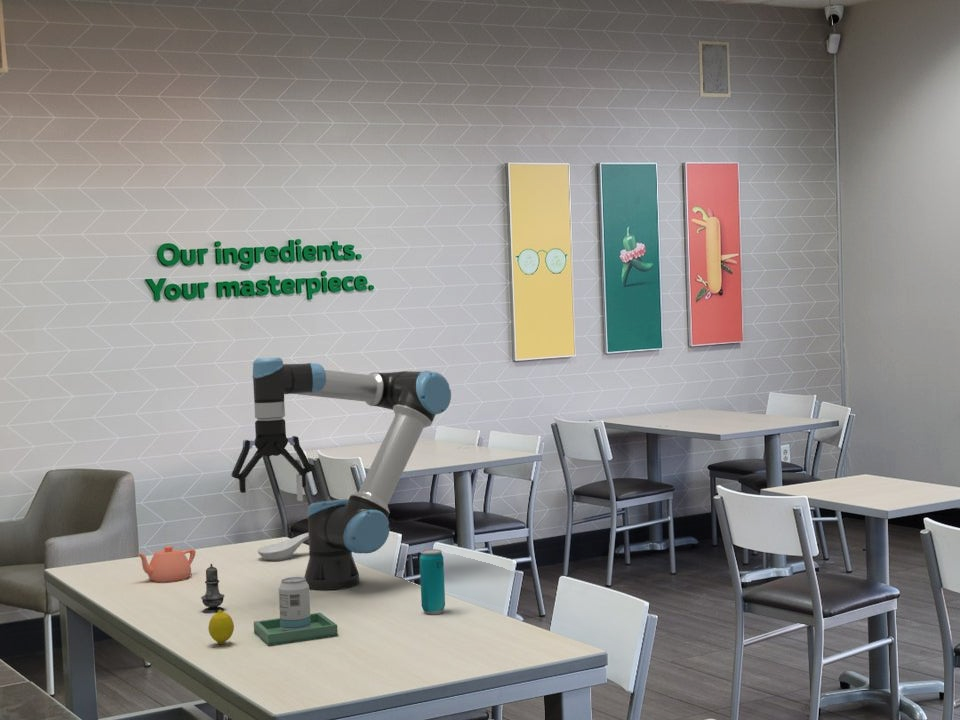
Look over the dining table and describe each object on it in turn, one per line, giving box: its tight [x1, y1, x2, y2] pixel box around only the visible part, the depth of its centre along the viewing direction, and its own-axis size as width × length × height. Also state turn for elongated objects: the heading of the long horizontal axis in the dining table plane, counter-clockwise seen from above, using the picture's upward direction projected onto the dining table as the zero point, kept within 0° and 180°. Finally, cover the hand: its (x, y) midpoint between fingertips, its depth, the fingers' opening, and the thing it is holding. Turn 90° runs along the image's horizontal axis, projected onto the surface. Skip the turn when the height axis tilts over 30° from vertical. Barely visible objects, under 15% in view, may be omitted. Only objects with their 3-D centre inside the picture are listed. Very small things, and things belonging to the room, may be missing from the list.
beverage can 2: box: [419, 548, 446, 615], centre depth 288 cm, size 6×6×15 cm
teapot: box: [135, 545, 196, 583], centre depth 342 cm, size 12×18×10 cm
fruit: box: [208, 609, 235, 646], centre depth 266 cm, size 6×6×8 cm
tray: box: [253, 612, 339, 647], centre depth 273 cm, size 16×14×2 cm
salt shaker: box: [200, 563, 225, 614], centre depth 300 cm, size 6×6×12 cm
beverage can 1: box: [278, 576, 311, 631], centre depth 273 cm, size 7×7×12 cm
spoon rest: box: [257, 532, 309, 562], centre depth 370 cm, size 24×12×7 cm, turn 114°
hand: (273, 503), depth 299 cm, fingers open, 13 cm apart
